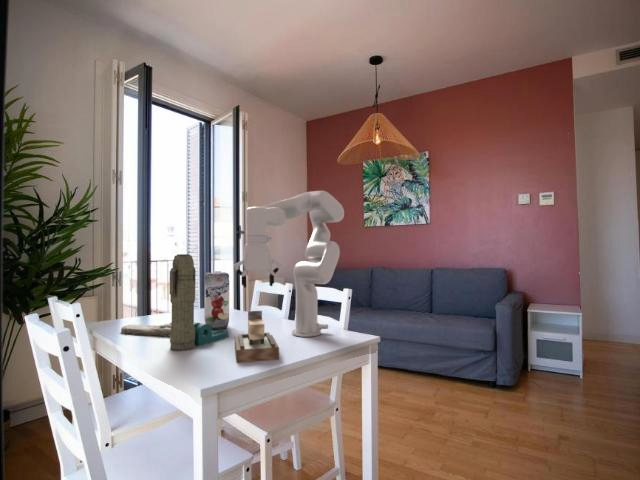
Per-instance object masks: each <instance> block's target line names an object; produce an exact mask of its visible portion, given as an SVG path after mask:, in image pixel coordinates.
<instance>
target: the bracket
mask: <svg viewBox="0 0 640 480" xmlns="http://www.w3.org/2000/svg"><path fill="white" fill-rule="evenodd" d="M194 327H195V341H194V345H195V346H196V347H200V346H204V345H207V344H211V343H213V342H216V341H219V340H223V339H227V338H229V330H226V329H218V330H212V328H211V326H210V325H208V324H205V323H202V322H196V321H194Z"/></svg>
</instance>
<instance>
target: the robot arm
mask: <svg viewBox="0 0 640 480" xmlns="http://www.w3.org/2000/svg"><path fill="white" fill-rule="evenodd" d="M307 213H308V214H309V219H310V222H311V225H312V233H311V236H310V239H309V241H308V243H307V245H306V247H305V250H304V251H305V252H304V257H305V259H306V260H303V261H299V262H297V263H296V264H295V265H294V267H293V279H294V284H295V329H293V330H291V335H293V336H296V337H302V338H311V337H312V338H313V337H317V336H320V335H321V333H322V330H328V329H329V324H327V323H326V324H325V323H319V322H318V296H319V295H318V290H317V287H316V285H315V284H317V285H326V284H329V282H331V280H332V277H333V275H334V272H335V270H336V267H337V264H338V262H339V259H340V253H341V251H340V245H339V244H338V243H337V242H336V241H332V240H331V232H330V230H329V228H328V226H327V224H326V223H339V222H341V221H342V220H343V219H344V217H345V210H344V206H343V205H342V203H340V202H339V201H338V200H337V199H336V198H335V197H334V196H333V195H332V194H331V193H329V192H328V191H326V190H314V191H312V190H311V191H307V192H303V193H301V194H300V193H299V194H297V195H295V196H293V197H290V198H286V199H283V200H279V201H275V202H273V203H269V204H266V205H265V204H264V205H263V206H250V207H247V209H246V244H244V247H243V259H242V260H240V261H238V262H236V263H234V265H233V267H234V269H235V271H236V272H237V274H239V275H240V277H241V286H243V288H244V289H245V288H247V276H246V274H247V273H248V272H265V271H267V272H268V273H269V276H268V277H269V279H268V280H269V282H268V283H269V286H270V287H273V286H274V284H275V275H276V274H277V273H278V271H279V269H280V267H281V266H282V263H281V262H280V261H278V260H274V259H273V258H272V251H271V245H270V243H268V242H270V241H272V237H270V236H269V235H268V228H278V227H281V226H283V224H285V222H286V220H292V219H296V218H299V217H301V216H304V215H306V214H307ZM272 264H273V265H276V266H275V268H274V269H272V266H273V265H272ZM242 265H243V270H241V269H240V266H242Z"/></svg>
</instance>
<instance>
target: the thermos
mask: <svg viewBox="0 0 640 480" xmlns="http://www.w3.org/2000/svg"><path fill="white" fill-rule="evenodd" d="M169 295H170V297H169V298H170V304H171V323H172V327H171V330H170V336H169V344H170V347H169V349H170V350H171V351H174V352H175V351H176V352H180V351H181V352H184V351H190V350H192V349H194V348H195V346H196V345H194V341H195V327H194V322H195V320H194V319H195V316H194V315H195V301H196V268H195V261H194V258H193V256H192V255H191V254H189V253H188V254H187V253H186V254H183V253H181V254H176V255H174V258H173V259H172V267H171V268H170V271H169Z"/></svg>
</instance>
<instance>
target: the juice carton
mask: <svg viewBox="0 0 640 480" xmlns="http://www.w3.org/2000/svg"><path fill="white" fill-rule="evenodd" d="M229 321H230V274H229V273H228V272H222V270H220V269H217V270H214V272H206V273H205V277H204V324H208V325H210V326H211V328H212V331H217V330H226V329H228V327H229V323H230V322H229Z"/></svg>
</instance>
